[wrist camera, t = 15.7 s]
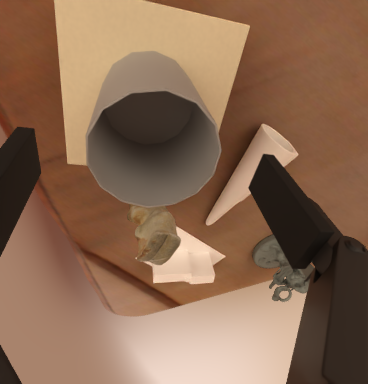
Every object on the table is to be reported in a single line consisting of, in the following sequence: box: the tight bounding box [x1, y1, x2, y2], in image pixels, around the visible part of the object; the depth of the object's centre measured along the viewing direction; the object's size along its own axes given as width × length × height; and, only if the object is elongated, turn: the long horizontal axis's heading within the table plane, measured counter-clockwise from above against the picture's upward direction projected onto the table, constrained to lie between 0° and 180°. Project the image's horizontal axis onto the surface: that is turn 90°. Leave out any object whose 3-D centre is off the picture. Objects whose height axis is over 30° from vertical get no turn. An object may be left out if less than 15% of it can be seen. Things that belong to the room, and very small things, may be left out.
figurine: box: [252, 235, 314, 302], centre depth 51 cm, size 11×11×12 cm
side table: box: [54, 0, 250, 165], centre depth 27 cm, size 15×15×8 cm
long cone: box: [206, 124, 298, 225], centre depth 40 cm, size 6×6×19 cm
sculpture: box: [127, 204, 181, 265], centre depth 33 cm, size 6×7×15 cm
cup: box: [86, 51, 222, 208], centre depth 20 cm, size 8×8×10 cm
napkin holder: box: [136, 226, 226, 284], centre depth 50 cm, size 15×11×6 cm
